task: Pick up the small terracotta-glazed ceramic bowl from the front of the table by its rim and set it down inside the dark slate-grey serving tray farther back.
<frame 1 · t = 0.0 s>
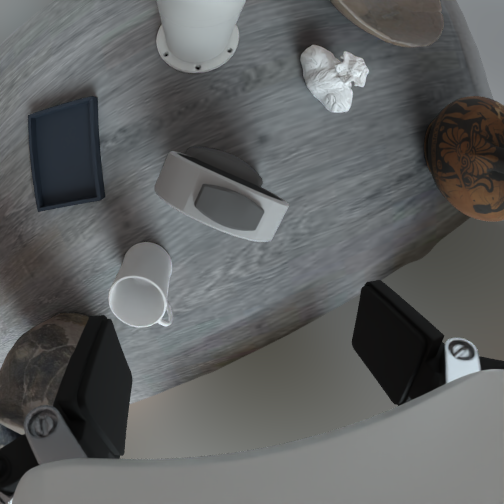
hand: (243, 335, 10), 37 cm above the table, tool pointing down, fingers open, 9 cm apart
alarm clock: (215, 183, 44), on the table
mug: (152, 273, 47), on the table
tray: (66, 154, 37), on the table
vase: (444, 150, 50), on the table
bust: (321, 80, 41), on the table
clay pot: (80, 342, 49), on the table
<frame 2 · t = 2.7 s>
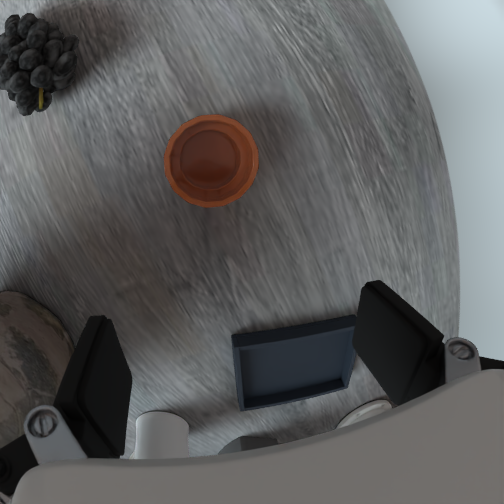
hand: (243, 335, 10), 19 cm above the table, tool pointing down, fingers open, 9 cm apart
fruit: (45, 56, 18), on the table
alarm clock: (244, 453, 44), on the table
mug: (154, 427, 38), on the table
tray: (294, 361, 37), on the table
small bowl: (208, 158, 26), on the table
clay pot: (29, 338, 28), on the table
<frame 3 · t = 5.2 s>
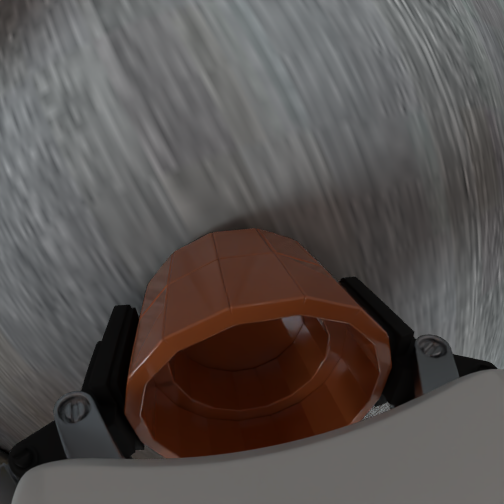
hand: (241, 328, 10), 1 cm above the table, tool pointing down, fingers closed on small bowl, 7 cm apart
small bowl: (237, 314, 11), on the table, touching gripper
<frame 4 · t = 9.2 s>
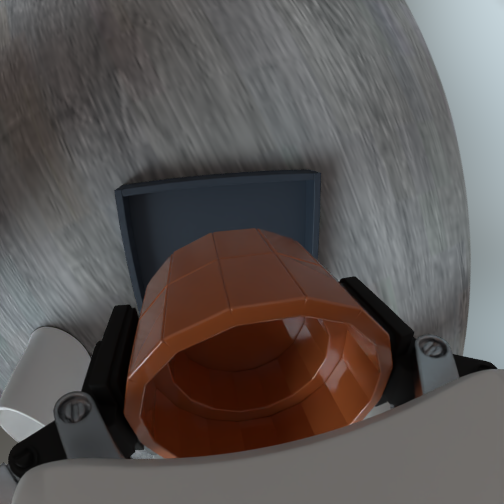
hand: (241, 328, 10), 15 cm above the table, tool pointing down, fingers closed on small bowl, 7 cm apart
mug: (52, 357, 26), on the table
tray: (221, 243, 25), on the table
small bowl: (238, 315, 11), point 15 cm above the table, touching gripper
when the fingers open (1 cm above the table, at t = 13.2 s): small bowl stays where it is, resting on tray.
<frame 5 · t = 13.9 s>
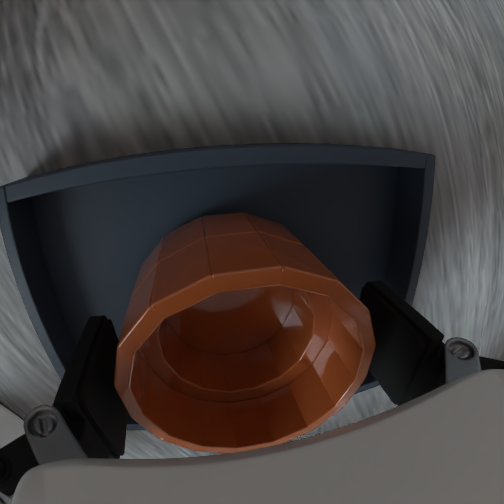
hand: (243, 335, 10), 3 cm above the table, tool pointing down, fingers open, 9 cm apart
tray: (229, 294, 12), on the table
small bowl: (227, 298, 12), point 1 cm above the table, touching tray
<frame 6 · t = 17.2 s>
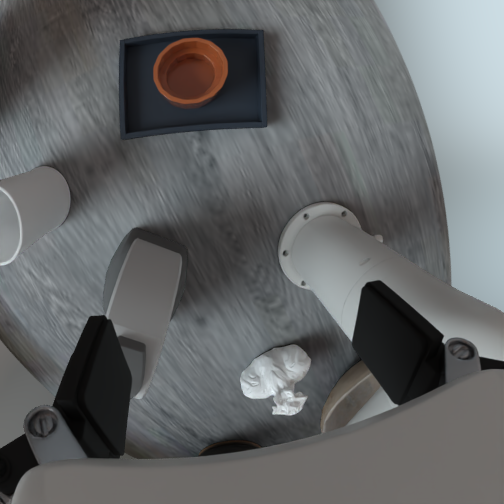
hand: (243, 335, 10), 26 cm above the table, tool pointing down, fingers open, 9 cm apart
alarm clock: (145, 278, 36), on the table
mug: (36, 204, 29), on the table
tray: (191, 81, 28), on the table
bowl: (363, 374, 53), on the table
vase: (228, 453, 56), on the table
small bowl: (190, 79, 28), point 1 cm above the table, touching tray
bust: (271, 361, 46), on the table
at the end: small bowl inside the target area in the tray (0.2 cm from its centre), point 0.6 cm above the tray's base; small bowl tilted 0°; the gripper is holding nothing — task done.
